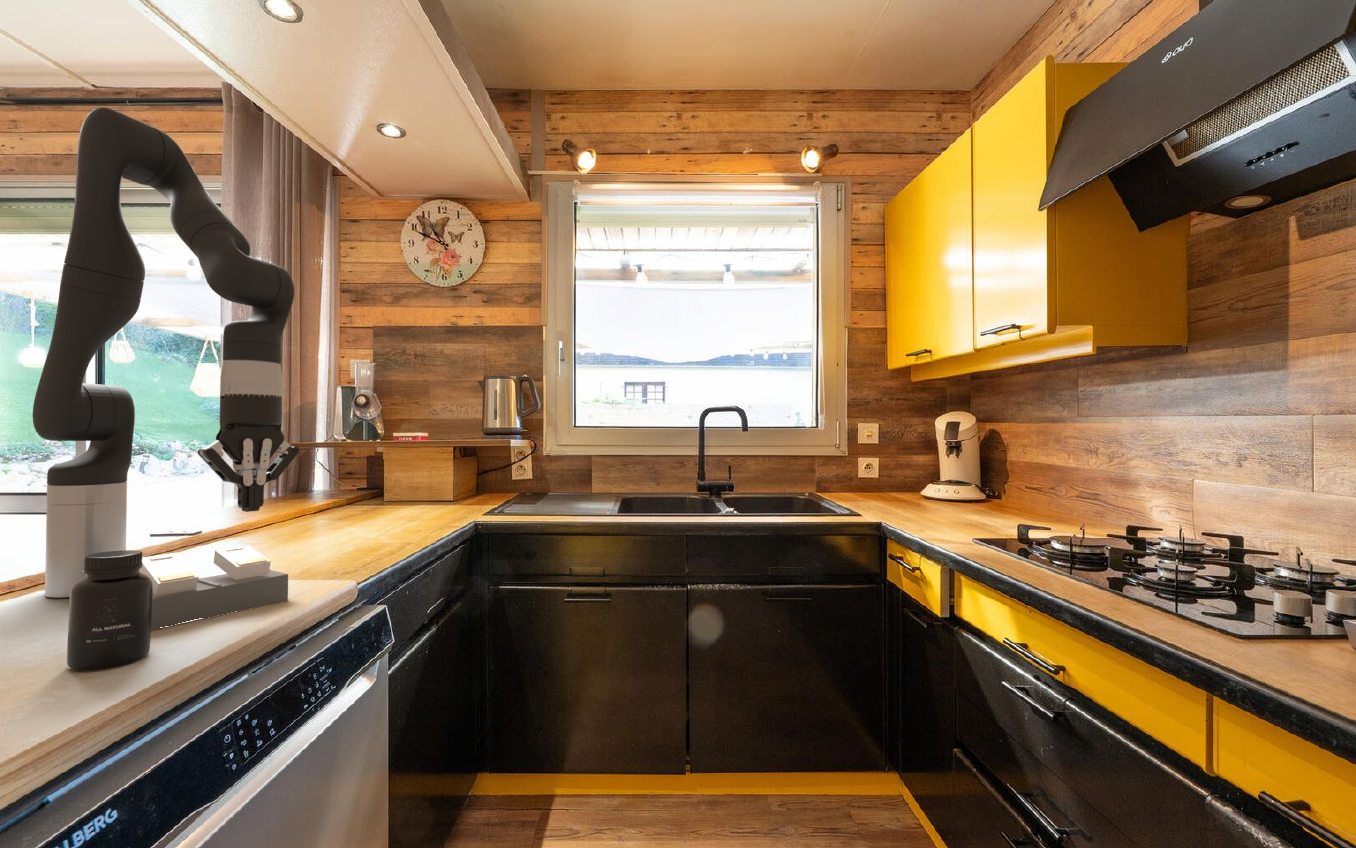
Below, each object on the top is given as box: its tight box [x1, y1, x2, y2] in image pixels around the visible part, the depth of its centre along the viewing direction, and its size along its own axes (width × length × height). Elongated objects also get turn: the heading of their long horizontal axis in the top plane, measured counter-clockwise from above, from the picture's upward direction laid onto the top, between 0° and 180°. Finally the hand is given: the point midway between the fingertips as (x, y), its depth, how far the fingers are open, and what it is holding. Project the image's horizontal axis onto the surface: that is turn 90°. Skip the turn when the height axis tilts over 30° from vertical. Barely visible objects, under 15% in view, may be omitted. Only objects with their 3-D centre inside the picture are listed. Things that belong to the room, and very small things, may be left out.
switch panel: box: [151, 569, 289, 631], centre depth 86 cm, size 8×18×4 cm, turn 149°
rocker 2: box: [213, 544, 271, 580], centre depth 90 cm, size 7×4×2 cm, turn 59°
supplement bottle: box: [66, 549, 153, 672], centre depth 68 cm, size 7×7×12 cm
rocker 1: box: [140, 552, 200, 597], centre depth 82 cm, size 7×4×2 cm, turn 59°
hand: (250, 510), depth 89 cm, fingers closed
